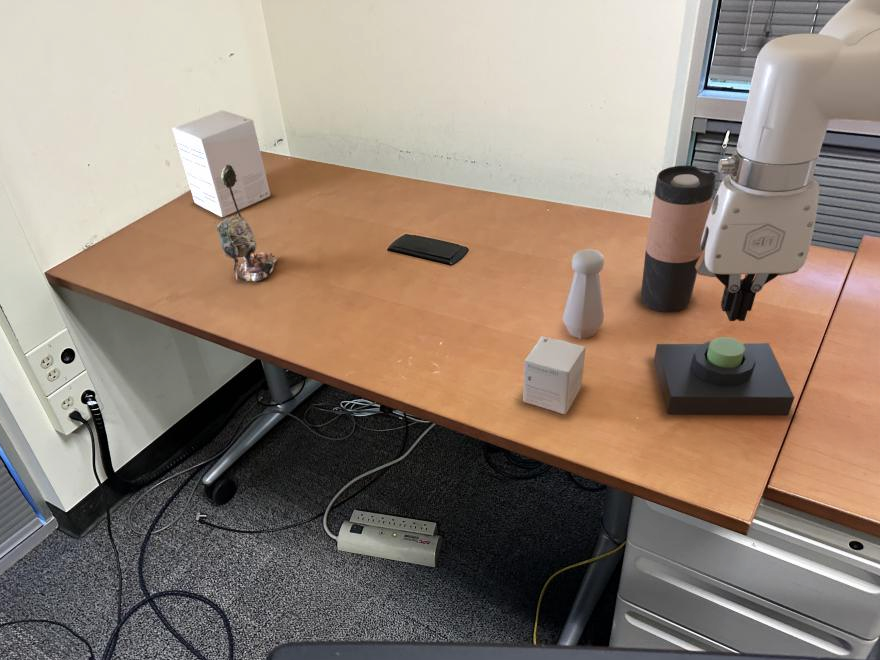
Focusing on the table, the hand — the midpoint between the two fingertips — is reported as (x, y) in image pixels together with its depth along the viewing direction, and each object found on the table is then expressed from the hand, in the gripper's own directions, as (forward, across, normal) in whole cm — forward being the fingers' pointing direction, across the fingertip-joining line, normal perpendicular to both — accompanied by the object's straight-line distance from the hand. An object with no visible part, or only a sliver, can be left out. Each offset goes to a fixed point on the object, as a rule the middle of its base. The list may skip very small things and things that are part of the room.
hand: (733, 314), depth 83 cm
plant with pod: (+12, -74, +33) cm, 82 cm away
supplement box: (+12, -89, +66) cm, 111 cm away
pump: (+7, 0, 0) cm, 7 cm away
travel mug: (+12, -3, +21) cm, 24 cm away
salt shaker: (+12, -16, +13) cm, 24 cm away
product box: (+12, -21, -2) cm, 24 cm away
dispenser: (+12, 0, 0) cm, 12 cm away
